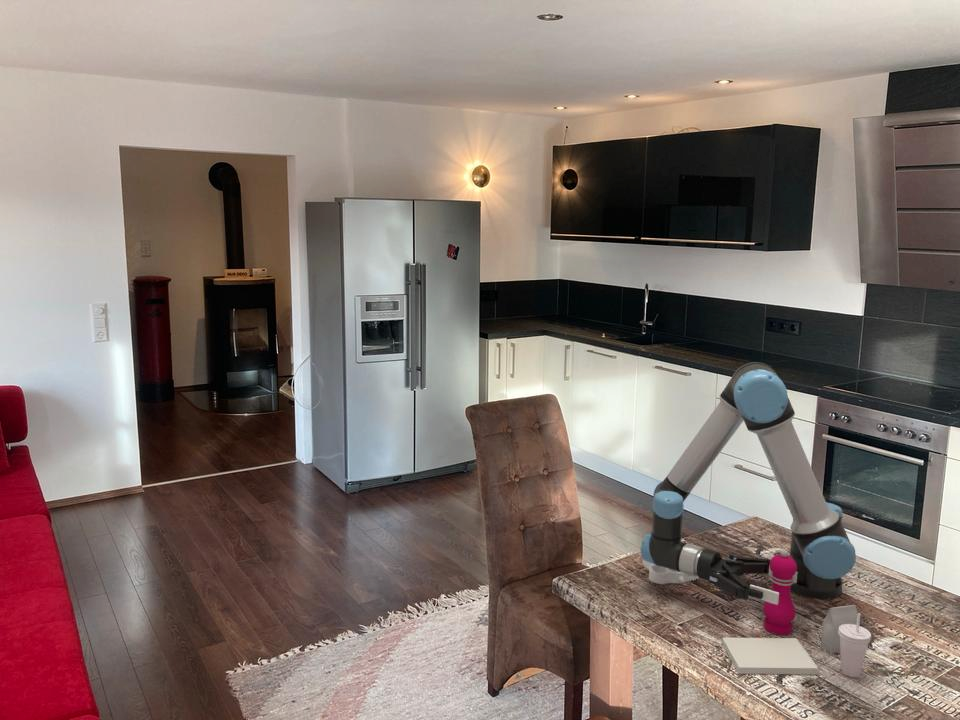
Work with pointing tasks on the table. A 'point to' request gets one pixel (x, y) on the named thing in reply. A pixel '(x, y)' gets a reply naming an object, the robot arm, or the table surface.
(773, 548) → the table surface
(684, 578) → the knuckle duster
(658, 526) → the robot arm
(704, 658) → the table surface
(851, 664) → the smoothie
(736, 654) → the cutting board
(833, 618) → the tea bag
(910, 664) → the table surface
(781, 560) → the pepper mill
